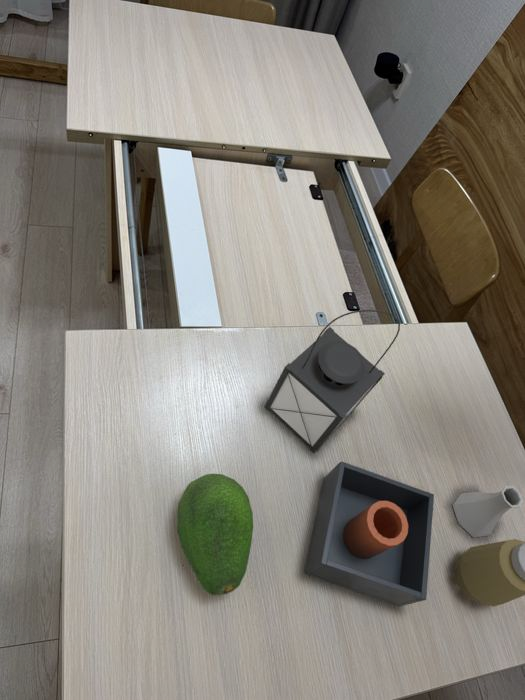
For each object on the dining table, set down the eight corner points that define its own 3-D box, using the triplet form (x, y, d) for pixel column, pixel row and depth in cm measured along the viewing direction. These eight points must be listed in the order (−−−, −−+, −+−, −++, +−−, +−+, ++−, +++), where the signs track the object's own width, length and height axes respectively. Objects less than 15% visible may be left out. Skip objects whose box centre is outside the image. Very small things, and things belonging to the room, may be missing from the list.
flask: (444, 502, 81) (479, 483, 73) (475, 485, 84) (513, 464, 76) (471, 545, 78) (512, 530, 70) (503, 526, 82) (545, 509, 73)
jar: (382, 525, 76) (410, 508, 69) (377, 564, 73) (406, 551, 66) (346, 512, 76) (370, 494, 69) (340, 551, 73) (364, 537, 65)
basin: (409, 508, 79) (434, 494, 73) (399, 606, 71) (426, 600, 65) (323, 478, 79) (341, 460, 73) (303, 573, 71) (321, 563, 64)
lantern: (263, 406, 83) (315, 305, 60) (304, 368, 89) (366, 262, 66) (314, 454, 81) (388, 367, 58) (353, 411, 87) (435, 316, 64)
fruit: (250, 596, 68) (267, 585, 60) (175, 602, 65) (182, 592, 57) (241, 484, 76) (255, 461, 67) (174, 486, 73) (180, 463, 65)
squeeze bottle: (437, 562, 76) (511, 534, 61) (476, 542, 79) (557, 512, 64) (466, 618, 72) (553, 604, 58) (507, 595, 76) (599, 576, 61)
